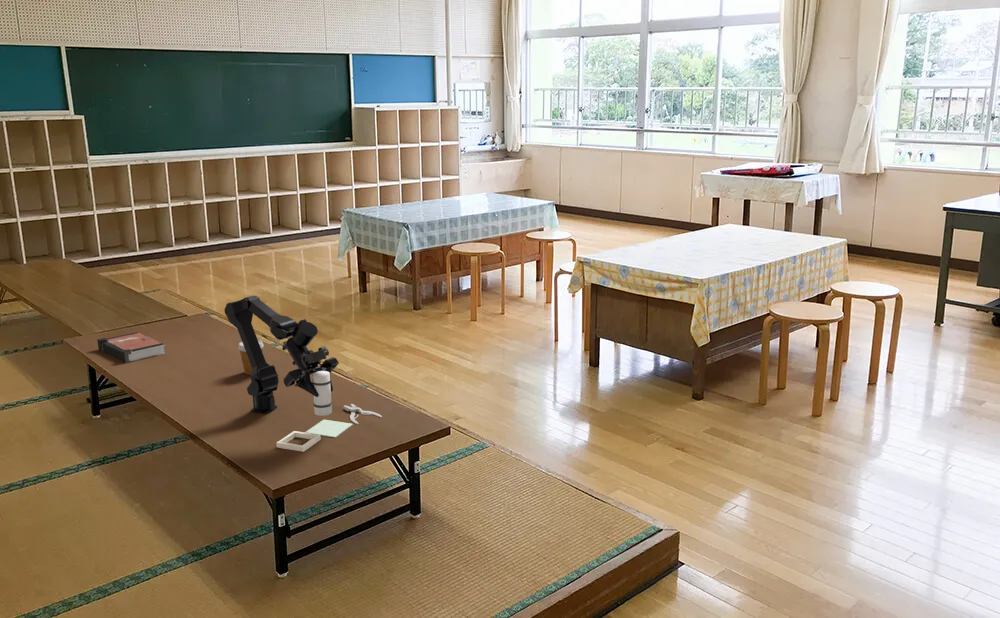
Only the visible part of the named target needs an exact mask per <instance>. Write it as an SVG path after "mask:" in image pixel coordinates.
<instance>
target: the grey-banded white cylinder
mask: <svg viewBox="0 0 1000 618" xmlns="http://www.w3.org/2000/svg"><path fill="white" fill-rule="evenodd" d="M330 376H331V373H329V372H327V371H317V372H314V373H313V374H312V375H311V377H312V381H311V382H312V384H313V385H314V387H315V389H316V390H317V392H318V394H319V396H318V397H315V396H314V395H313V410H314V415H316V416H322V417H323V416H328V415H331V414H332V413H333V409H332V407H333V406H332V405H333V402H332V392H331V386H330V383H331V382H332V379H330Z"/></svg>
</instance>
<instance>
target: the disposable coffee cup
mask: <svg viewBox="0 0 1000 618" xmlns="http://www.w3.org/2000/svg"><path fill="white" fill-rule="evenodd" d="M258 342H259V345H260V347H261V350H262V353H263V351H264V350H263V349H264V343H263V341H262V340H261V339H258ZM237 348H238V351H239V353H240V357H241V362H242V365H243V369H244V370H243V371H244V374H245V375H248V376H250V375H251V370H252V366H251V364H250V361H249V358H248V356H247V353H246V350H245V348H244V345H243V342H242V341H241V342H239V343H238V347H237ZM263 354H264V353H263Z"/></svg>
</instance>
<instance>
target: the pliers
mask: <svg viewBox="0 0 1000 618" xmlns="http://www.w3.org/2000/svg"><path fill="white" fill-rule="evenodd" d="M343 410H345V411H347V412H350V415H349V419H350V421H351V422H352V424H355V425H359V424H360V423H359V422H358V421H357V420H356V419H357V418H359V414H360V415H361V416H376V417H377V418H381V419H382V418H383V416H382V415H381V414H379V413H377V412H374V411H371V410H363V409H362V408H361V407H358V406H357V405H355V404H354V403H350V406H348V405H343ZM356 413H359V414H356ZM356 415H357V416H356Z"/></svg>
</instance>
